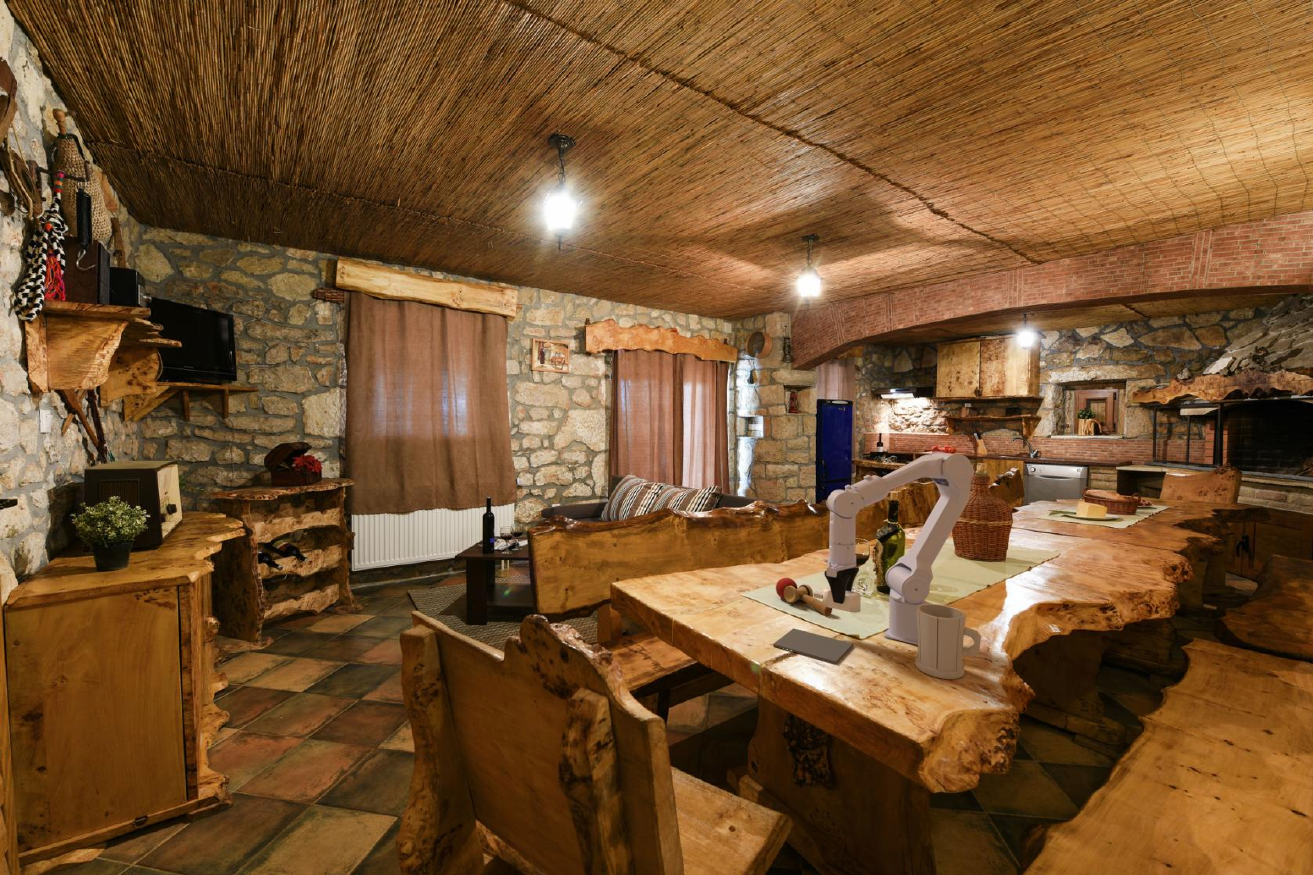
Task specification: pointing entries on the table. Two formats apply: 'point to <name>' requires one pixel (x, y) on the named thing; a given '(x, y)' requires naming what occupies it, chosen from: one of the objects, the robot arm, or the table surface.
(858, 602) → the block
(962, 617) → the cup
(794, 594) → the kendama
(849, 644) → the mat
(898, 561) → the robot arm
